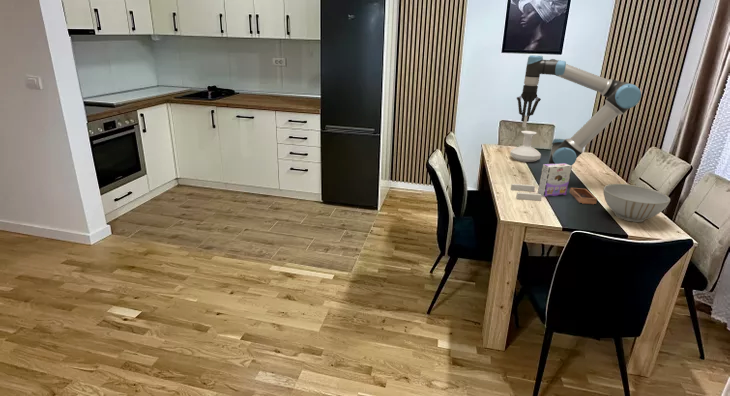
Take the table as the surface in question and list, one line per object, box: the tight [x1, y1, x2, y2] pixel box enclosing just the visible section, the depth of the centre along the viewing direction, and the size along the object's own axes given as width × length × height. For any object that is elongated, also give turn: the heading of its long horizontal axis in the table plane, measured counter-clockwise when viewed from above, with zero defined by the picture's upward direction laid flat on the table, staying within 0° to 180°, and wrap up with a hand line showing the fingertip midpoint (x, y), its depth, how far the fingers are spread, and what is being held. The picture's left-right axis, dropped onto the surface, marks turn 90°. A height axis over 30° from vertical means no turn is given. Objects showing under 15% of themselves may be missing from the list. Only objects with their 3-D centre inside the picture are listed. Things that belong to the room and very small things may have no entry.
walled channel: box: [510, 183, 543, 201], centre depth 225 cm, size 12×16×3 cm
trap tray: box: [569, 187, 598, 205], centre depth 222 cm, size 8×16×3 cm, turn 173°
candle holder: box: [509, 130, 542, 163], centre depth 290 cm, size 20×20×19 cm
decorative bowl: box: [602, 183, 671, 223], centre depth 199 cm, size 27×27×12 cm
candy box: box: [537, 163, 573, 197], centre depth 225 cm, size 14×6×16 cm, turn 102°
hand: (523, 127), depth 243 cm, fingers closed
